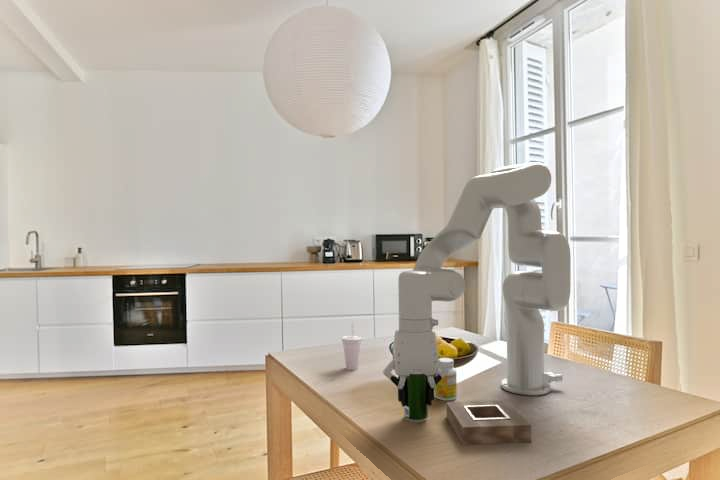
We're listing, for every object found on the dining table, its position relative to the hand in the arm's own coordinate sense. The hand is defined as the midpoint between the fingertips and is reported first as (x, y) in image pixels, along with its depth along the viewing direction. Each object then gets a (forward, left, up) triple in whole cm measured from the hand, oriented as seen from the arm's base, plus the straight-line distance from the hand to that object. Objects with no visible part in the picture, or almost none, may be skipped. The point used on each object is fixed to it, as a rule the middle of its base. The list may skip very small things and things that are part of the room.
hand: (416, 403), depth 109 cm
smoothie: (+13, -41, -4) cm, 43 cm away
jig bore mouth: (-14, +7, 0) cm, 16 cm away
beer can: (0, 0, -4) cm, 4 cm away
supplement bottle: (-10, -13, -4) cm, 17 cm away
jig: (-14, +7, -3) cm, 16 cm away
